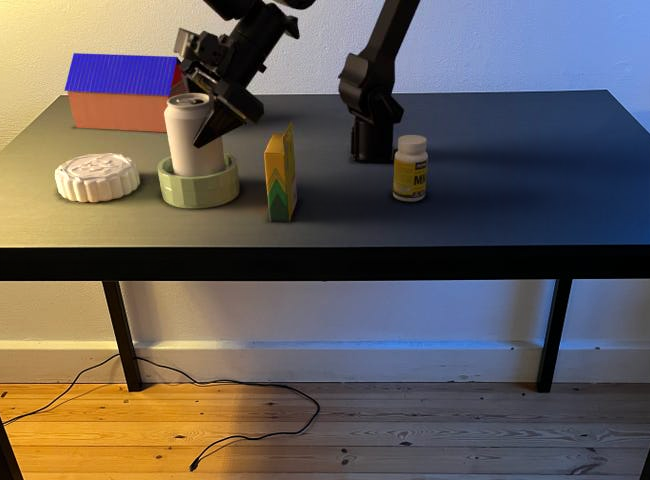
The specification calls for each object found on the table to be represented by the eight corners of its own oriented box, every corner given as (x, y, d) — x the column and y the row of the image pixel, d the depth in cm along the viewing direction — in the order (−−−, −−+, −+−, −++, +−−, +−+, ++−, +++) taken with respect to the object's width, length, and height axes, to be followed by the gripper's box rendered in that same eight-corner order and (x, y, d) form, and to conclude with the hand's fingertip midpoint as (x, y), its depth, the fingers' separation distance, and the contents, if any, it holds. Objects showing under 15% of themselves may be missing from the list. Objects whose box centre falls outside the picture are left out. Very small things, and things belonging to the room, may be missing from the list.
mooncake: (100, 209, 97) (95, 185, 95) (42, 193, 102) (35, 170, 100) (156, 180, 106) (153, 158, 104) (100, 167, 111) (95, 145, 108)
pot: (246, 179, 106) (243, 150, 103) (230, 209, 97) (227, 179, 94) (174, 177, 107) (170, 148, 104) (152, 207, 98) (147, 177, 95)
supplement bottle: (415, 205, 98) (419, 147, 93) (387, 198, 100) (389, 141, 95) (430, 193, 101) (434, 137, 96) (402, 187, 103) (405, 131, 98)
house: (174, 133, 124) (164, 65, 117) (73, 127, 127) (57, 61, 120) (197, 113, 133) (189, 48, 126) (102, 108, 136) (89, 45, 129)
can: (230, 187, 99) (220, 102, 92) (178, 194, 97) (164, 109, 90) (223, 168, 105) (212, 88, 97) (173, 175, 103) (159, 93, 96)
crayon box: (277, 199, 100) (272, 119, 93) (297, 200, 99) (293, 119, 92) (268, 221, 94) (262, 137, 87) (289, 222, 93) (284, 137, 86)
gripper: (182, -8, 95) (120, 87, 97) (232, 14, 82) (159, 123, 84) (240, 46, 103) (181, 132, 105) (294, 73, 89) (226, 171, 92)
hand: (185, 138), depth 96 cm, fingers closed on can, 7 cm apart
